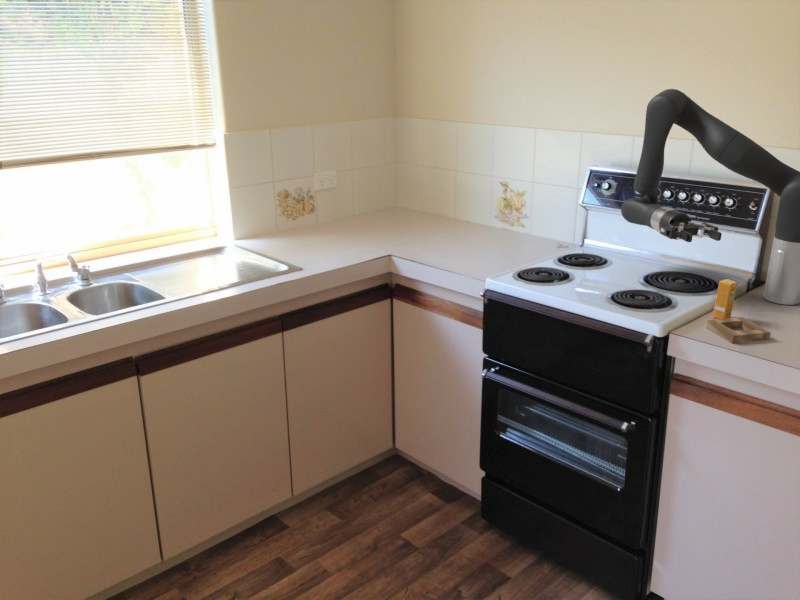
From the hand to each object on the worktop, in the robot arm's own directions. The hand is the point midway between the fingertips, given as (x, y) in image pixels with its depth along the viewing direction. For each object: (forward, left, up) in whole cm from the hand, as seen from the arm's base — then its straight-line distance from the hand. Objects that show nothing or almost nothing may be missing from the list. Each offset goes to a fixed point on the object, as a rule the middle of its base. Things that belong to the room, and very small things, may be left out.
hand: (705, 237), depth 190 cm
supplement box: (0, +11, -18) cm, 22 cm away
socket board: (+3, +21, -18) cm, 28 cm away
